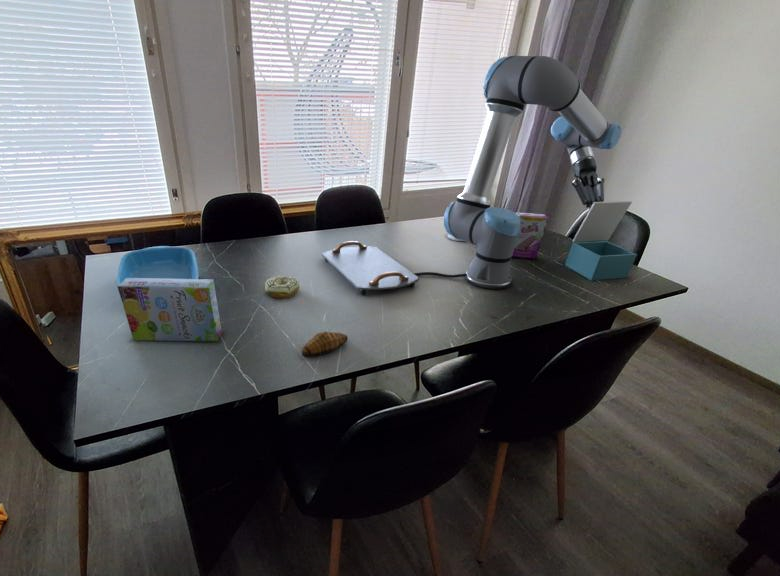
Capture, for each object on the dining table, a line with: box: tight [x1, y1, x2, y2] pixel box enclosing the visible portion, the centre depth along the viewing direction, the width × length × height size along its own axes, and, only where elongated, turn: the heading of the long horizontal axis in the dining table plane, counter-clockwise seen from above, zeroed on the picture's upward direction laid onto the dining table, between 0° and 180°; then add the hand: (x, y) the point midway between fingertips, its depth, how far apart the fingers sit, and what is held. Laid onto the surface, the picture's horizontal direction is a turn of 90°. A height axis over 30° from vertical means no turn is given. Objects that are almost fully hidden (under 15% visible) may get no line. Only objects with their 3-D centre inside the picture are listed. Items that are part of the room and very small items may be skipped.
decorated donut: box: [264, 275, 300, 299], centre depth 130 cm, size 10×11×4 cm
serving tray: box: [321, 240, 420, 296], centre depth 145 cm, size 39×23×6 cm, turn 25°
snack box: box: [117, 278, 223, 342], centre depth 103 cm, size 21×6×15 cm, turn 92°
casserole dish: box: [115, 245, 200, 288], centre depth 129 cm, size 37×22×7 cm, turn 21°
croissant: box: [301, 330, 349, 358], centre depth 103 cm, size 14×7×5 cm, turn 128°
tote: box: [564, 240, 638, 281], centre depth 154 cm, size 15×16×9 cm
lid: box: [572, 200, 633, 243], centre depth 151 cm, size 15×16×1 cm
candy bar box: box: [512, 211, 549, 260], centre depth 162 cm, size 11×5×16 cm, turn 84°
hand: (598, 221), depth 153 cm, fingers closed
